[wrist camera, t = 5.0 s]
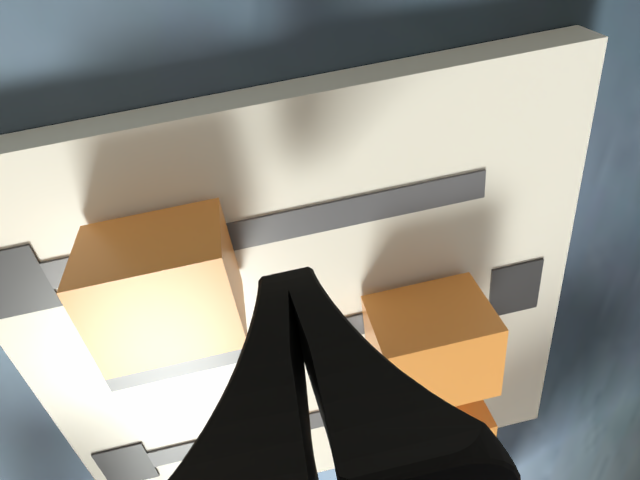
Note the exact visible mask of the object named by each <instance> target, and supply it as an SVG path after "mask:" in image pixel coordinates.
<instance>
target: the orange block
mask: <svg viewBox="0 0 640 480" xmlns="http://www.w3.org/2000/svg"><path fill="white" fill-rule="evenodd" d="M56 294H57V296H58V297H59V299H60V301H61V303H62V304H63V306H64V308H65V310H66V312H67V313H68V315H69V317H70V319H71V320H72V322H73V324H74V326H75V327H76V329H77V331H78V333H79V334H80V336H81V338H82V340H83V342H84V343H85V345H86V347H87V349H88V350H89V352H90V354H91V356H92V357H93V359H94V361H95V363H96V365H97V366H98V368H99V370H100V372H101V373H102V375H103V377H104V379H105V380H108V379H112V378H117V377H121V376H126V375H130V374H134V373H139V372H143V371H147V370H152V369H156V368H161V367H165V366H169V365H174V364H178V363H183V362H187V361H191V360H196V359H200V358H205V357H209V356H213V355H218V354H222V353H227V352H231V351H235V350H240V349H242V347H243V345H244V342H245V339H246V336H247V323H246V313H245V303H244V293H243V283H242V278H241V274H240V271H239V267H238V264H237V260H236V257H235V253H234V250H233V246H232V243H231V239H230V236H229V232H228V228H227V225H226V221H225V218H224V214H223V211H222V207H221V204H220V200H219V198H214V199H209V200H204V201H199V202H195V203H190V204H185V205H180V206H175V207H170V208H165V209H160V210H156V211H151V212H146V213H141V214H136V215H131V216H126V217H122V218H117V219H112V220H107V221H102V222H97V223H92V224H87V225H83V226H80V228H79V230H78V233H77V236H76V239H75V242H74V245H73V247H72V250H71V253H70V256H69V259H68V262H67V264H66V267H65V270H64V273H63V276H62V279H61V281H60V284H59V287H58V290H57V293H56Z"/></svg>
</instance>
